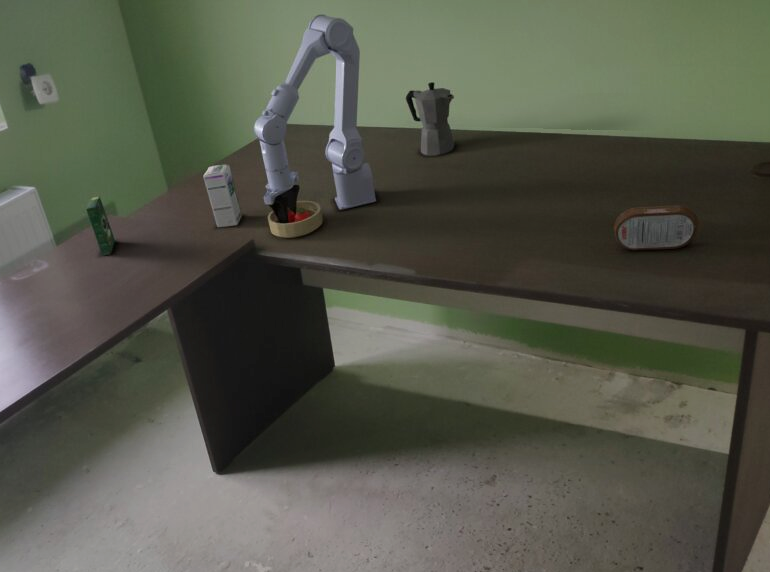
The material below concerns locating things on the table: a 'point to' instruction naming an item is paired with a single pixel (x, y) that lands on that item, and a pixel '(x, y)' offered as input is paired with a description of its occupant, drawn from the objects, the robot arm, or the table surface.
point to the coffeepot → (433, 119)
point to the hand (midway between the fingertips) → (288, 219)
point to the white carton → (222, 195)
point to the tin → (656, 227)
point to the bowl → (300, 226)
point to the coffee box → (100, 225)
